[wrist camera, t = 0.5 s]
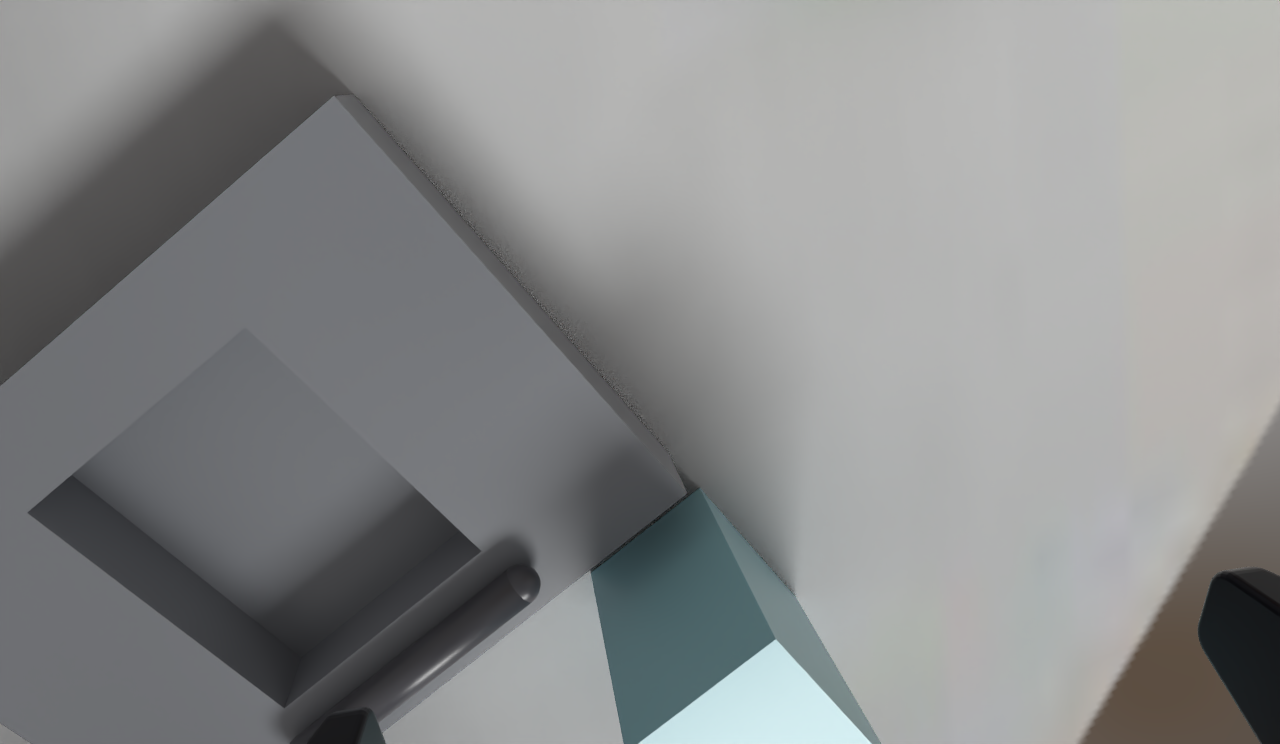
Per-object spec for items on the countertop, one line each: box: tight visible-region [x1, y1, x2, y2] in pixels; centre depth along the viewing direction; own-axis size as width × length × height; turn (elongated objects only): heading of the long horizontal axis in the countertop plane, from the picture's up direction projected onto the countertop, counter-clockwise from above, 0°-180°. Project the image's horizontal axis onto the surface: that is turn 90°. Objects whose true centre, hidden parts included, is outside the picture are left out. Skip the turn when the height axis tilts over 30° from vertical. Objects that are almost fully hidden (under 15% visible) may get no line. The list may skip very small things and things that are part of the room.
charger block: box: [591, 488, 881, 744], centre depth 22 cm, size 4×5×7 cm
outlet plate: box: [0, 94, 687, 744], centre depth 20 cm, size 16×12×4 cm
